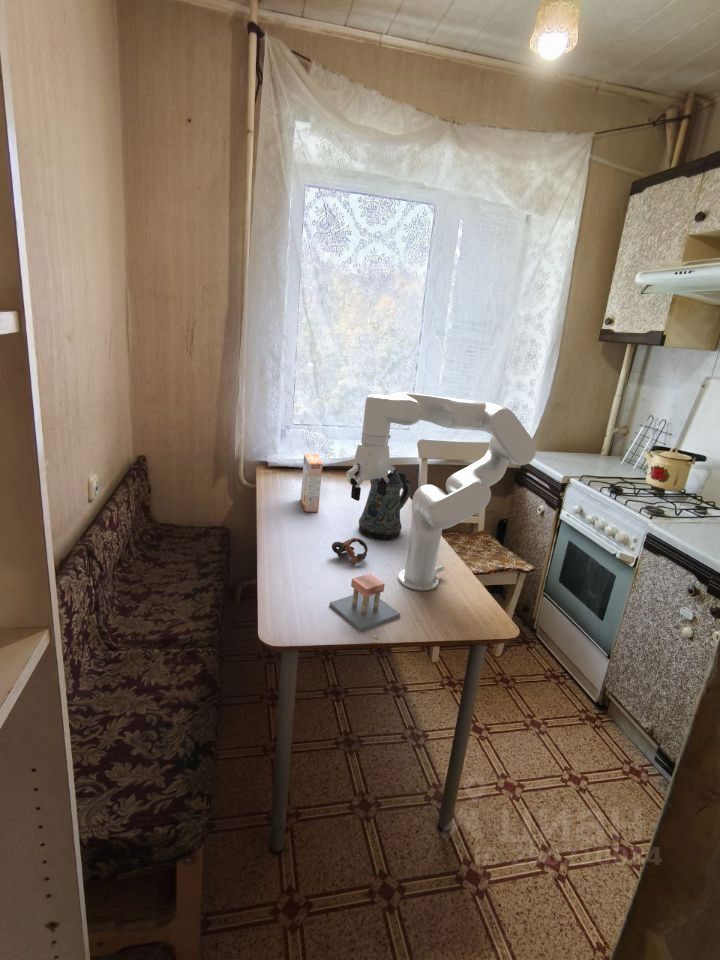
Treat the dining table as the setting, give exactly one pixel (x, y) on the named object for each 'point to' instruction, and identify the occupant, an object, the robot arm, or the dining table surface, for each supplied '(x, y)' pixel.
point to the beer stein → (385, 508)
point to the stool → (367, 591)
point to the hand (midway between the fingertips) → (368, 496)
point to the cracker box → (311, 482)
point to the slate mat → (371, 616)
